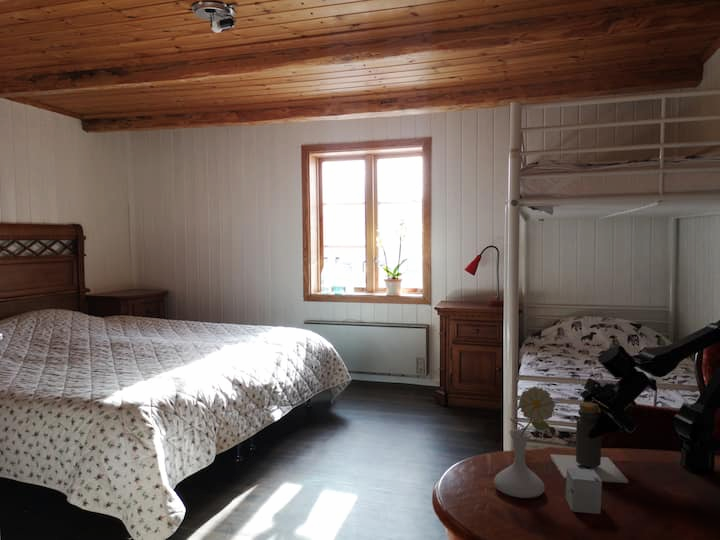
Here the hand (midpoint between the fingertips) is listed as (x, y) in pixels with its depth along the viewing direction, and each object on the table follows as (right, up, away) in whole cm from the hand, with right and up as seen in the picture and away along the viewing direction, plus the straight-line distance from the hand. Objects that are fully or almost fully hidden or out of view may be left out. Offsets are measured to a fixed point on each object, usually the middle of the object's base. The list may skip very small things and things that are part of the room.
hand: (583, 433), depth 135 cm
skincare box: (-8, -10, -19) cm, 23 cm away
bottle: (+1, -8, 0) cm, 8 cm away
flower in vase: (-20, -10, -13) cm, 25 cm away
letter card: (+1, -9, 0) cm, 9 cm away
